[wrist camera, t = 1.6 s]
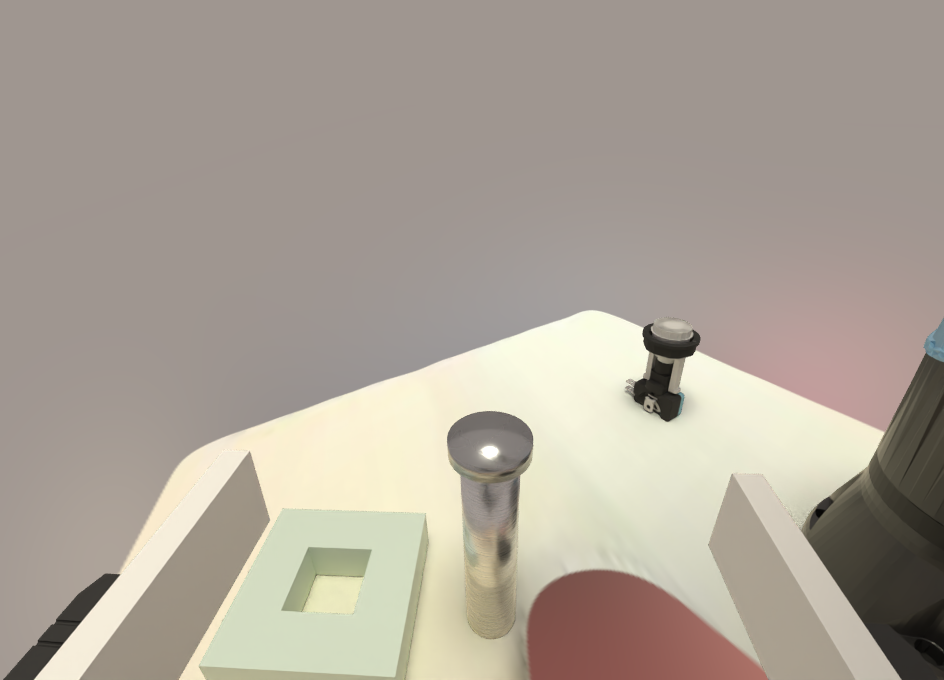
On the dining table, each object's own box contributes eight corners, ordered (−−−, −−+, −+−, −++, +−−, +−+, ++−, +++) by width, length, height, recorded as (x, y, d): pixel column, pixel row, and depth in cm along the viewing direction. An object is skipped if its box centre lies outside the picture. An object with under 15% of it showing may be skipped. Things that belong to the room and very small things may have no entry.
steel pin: (522, 584, 33) (531, 411, 25) (525, 650, 29) (535, 469, 22) (460, 581, 33) (451, 410, 26) (455, 647, 29) (442, 466, 22)
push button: (610, 398, 52) (622, 318, 47) (641, 383, 55) (655, 305, 50) (662, 429, 47) (680, 342, 42) (693, 410, 50) (713, 327, 45)
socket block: (428, 540, 36) (425, 513, 34) (400, 705, 26) (395, 677, 25) (290, 535, 37) (282, 508, 35) (214, 694, 27) (198, 666, 26)
